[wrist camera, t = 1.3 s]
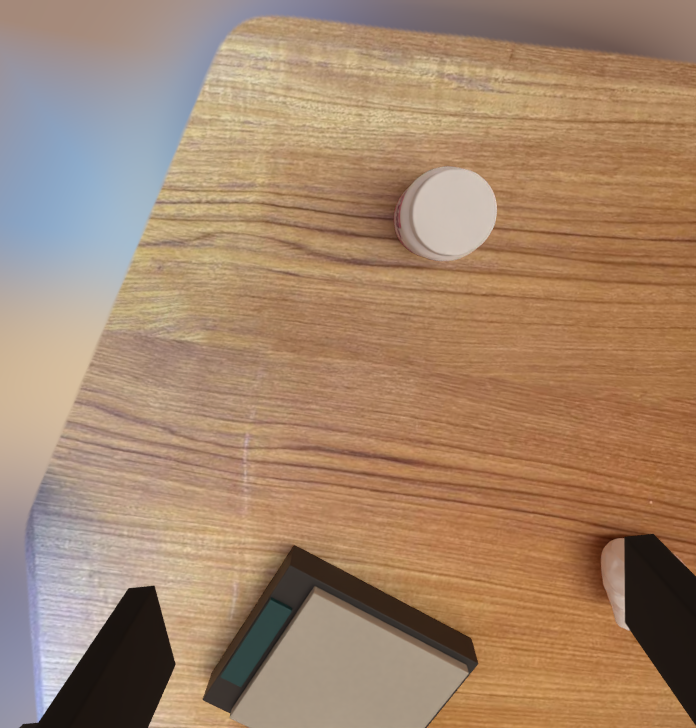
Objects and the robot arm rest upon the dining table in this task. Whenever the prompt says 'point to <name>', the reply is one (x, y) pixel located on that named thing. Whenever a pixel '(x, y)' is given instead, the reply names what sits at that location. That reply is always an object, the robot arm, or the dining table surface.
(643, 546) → the robot arm
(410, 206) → the pill bottle
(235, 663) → the scale
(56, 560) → the dining table surface
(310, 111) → the dining table surface
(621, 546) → the garlic bulb
